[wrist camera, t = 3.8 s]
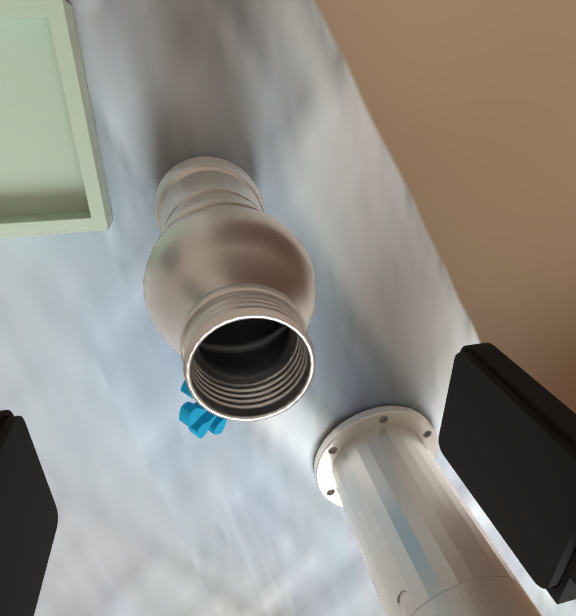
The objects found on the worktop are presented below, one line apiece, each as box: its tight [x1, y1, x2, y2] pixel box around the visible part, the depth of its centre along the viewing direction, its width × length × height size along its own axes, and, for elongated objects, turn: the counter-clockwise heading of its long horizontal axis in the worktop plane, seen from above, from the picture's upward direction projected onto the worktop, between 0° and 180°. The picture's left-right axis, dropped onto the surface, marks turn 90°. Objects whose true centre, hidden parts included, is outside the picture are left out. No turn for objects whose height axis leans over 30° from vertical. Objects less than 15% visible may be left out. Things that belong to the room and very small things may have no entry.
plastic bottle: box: [143, 156, 316, 422], centre depth 21 cm, size 6×7×20 cm
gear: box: [179, 381, 227, 439], centre depth 32 cm, size 11×6×10 cm
